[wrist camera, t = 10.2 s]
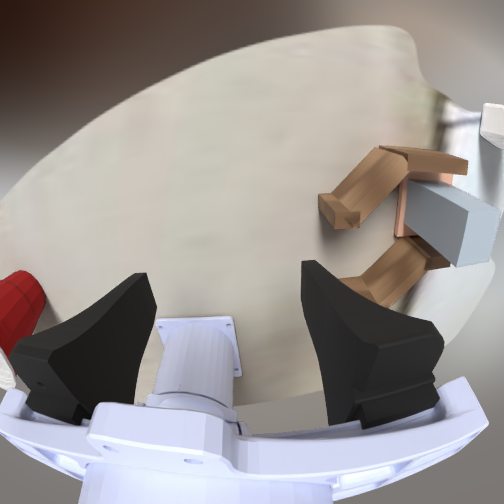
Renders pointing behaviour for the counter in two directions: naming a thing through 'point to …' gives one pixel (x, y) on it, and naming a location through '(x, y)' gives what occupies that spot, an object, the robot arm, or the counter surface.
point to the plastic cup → (17, 317)
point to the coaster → (400, 226)
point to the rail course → (368, 198)
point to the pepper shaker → (493, 124)
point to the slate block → (451, 221)
